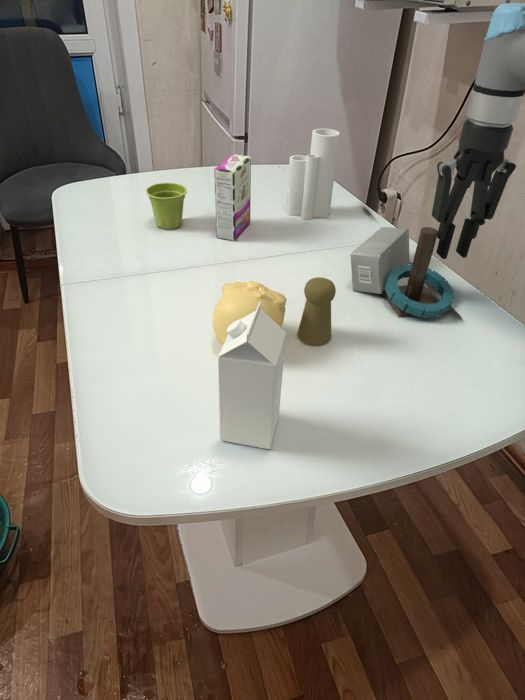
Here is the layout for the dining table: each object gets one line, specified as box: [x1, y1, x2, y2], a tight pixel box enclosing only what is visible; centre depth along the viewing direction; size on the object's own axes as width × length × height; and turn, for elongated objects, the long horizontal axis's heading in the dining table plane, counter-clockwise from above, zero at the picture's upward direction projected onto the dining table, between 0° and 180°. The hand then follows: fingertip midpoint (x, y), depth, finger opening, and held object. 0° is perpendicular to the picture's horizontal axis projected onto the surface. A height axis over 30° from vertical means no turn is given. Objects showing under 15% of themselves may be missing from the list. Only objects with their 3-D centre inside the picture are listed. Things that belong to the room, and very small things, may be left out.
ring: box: [385, 264, 454, 319], centre depth 98 cm, size 13×13×2 cm
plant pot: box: [145, 182, 188, 231], centre depth 121 cm, size 9×9×9 cm
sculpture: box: [211, 280, 287, 346], centre depth 85 cm, size 11×12×11 cm
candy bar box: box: [213, 153, 252, 242], centre depth 118 cm, size 11×5×16 cm, turn 162°
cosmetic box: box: [349, 226, 410, 295], centre depth 105 cm, size 8×7×16 cm
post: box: [381, 226, 438, 318], centre depth 96 cm, size 9×9×15 cm
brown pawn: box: [296, 276, 337, 347], centre depth 87 cm, size 6×6×11 cm
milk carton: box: [217, 302, 287, 450], centre depth 67 cm, size 7×7×19 cm
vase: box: [285, 127, 340, 221], centre depth 126 cm, size 11×7×20 cm, turn 106°
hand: (451, 254), depth 95 cm, fingers open, 3 cm apart
